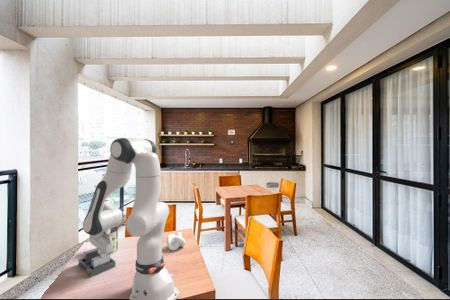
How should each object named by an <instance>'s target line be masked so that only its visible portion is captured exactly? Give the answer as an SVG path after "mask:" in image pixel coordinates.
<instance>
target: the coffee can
mask: <svg viewBox="0 0 450 300" xmlns="http://www.w3.org/2000/svg"><path fill="white" fill-rule="evenodd" d="M118 227H119V226H116V227H113V228H111V229H110V233H109V236H110V237H111V238H112V243H113V251H112V252H110V253H109V254H110V255H112V254H115V253H116V252H117V251H118V250H119V248H118V246H119V244H118V243H119V240H118V239H119V238H118V232H119V231H118V229H119V228H118Z"/></svg>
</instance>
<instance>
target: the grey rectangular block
mask: <svg viewBox="0 0 450 300" xmlns="http://www.w3.org/2000/svg"><path fill="white" fill-rule="evenodd" d="M110 258H111V254H109V253H107V254H104V256H103V257H100V256H98V257H95V258H92V270H93V269H96V268H98V267H101V266H103V265H106V264H108V263H110Z"/></svg>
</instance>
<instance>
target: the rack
mask: <svg viewBox="0 0 450 300" xmlns="http://www.w3.org/2000/svg"><path fill="white" fill-rule="evenodd" d="M104 254H105V253H104ZM95 257H98V250H97V247H95V248H92V249H90V250H87V251H84V252H83V258H80V259H78V267H80V268H81V269H82V271H84V273H85V274H87V275H88V276H89V277H90V278H92V277H95V276H97V275H100V274H102V273H104V272H107V271H109V270H112V269H113V268H116V260H114V259H112V257H110V263H108V264H106V265H103V266H101V267H98V268H96V269H93V270H92V258H95Z"/></svg>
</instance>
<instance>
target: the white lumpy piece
mask: <svg viewBox="0 0 450 300" xmlns="http://www.w3.org/2000/svg"><path fill="white" fill-rule="evenodd" d="M182 235H183V234H182V232H181V231H178V232H176V233H175V234H174V233H169V234H168V235H167V237H166V246H167V247H168V249H169V250H170V251H176V250H178V249H179V247H180V248H183V247H184V246H185V245H186V240H185V238H183V237H182Z"/></svg>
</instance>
